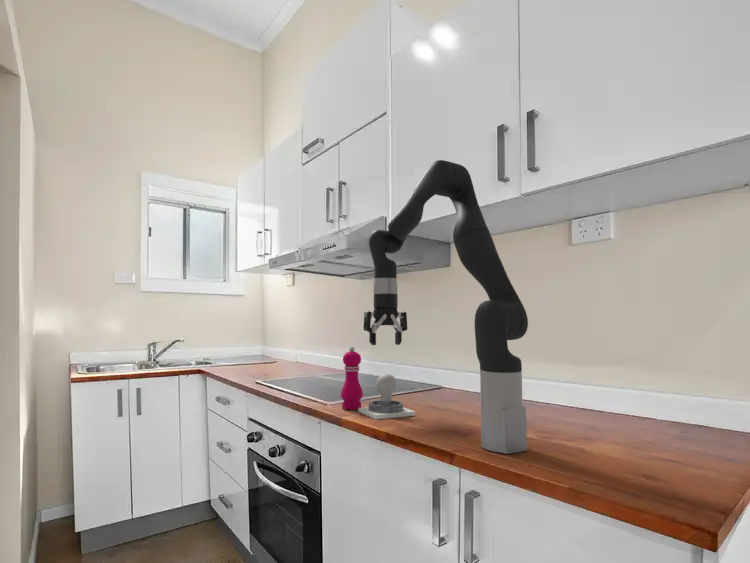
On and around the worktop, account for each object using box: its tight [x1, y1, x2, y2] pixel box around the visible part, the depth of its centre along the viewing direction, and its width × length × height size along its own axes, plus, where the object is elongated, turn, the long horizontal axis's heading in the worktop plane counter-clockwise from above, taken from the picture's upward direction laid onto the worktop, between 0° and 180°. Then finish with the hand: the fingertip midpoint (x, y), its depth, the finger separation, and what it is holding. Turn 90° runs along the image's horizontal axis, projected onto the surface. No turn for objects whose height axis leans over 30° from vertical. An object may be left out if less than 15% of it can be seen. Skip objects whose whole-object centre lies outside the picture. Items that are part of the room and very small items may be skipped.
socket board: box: [357, 406, 416, 420], centre depth 143 cm, size 13×13×1 cm
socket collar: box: [368, 399, 404, 413], centre depth 143 cm, size 10×10×2 cm
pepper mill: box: [340, 346, 364, 411], centre depth 153 cm, size 7×7×20 cm
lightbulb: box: [376, 373, 397, 406], centre depth 144 cm, size 6×6×11 cm
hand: (385, 344), depth 145 cm, fingers open, 8 cm apart
